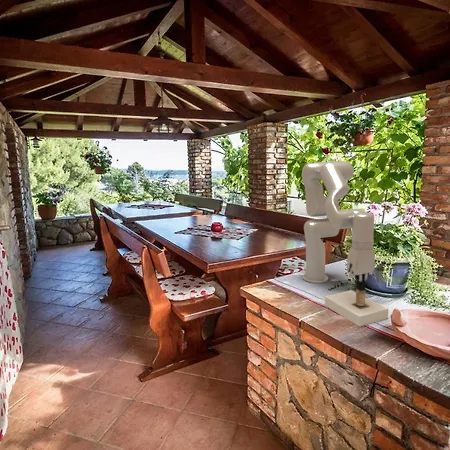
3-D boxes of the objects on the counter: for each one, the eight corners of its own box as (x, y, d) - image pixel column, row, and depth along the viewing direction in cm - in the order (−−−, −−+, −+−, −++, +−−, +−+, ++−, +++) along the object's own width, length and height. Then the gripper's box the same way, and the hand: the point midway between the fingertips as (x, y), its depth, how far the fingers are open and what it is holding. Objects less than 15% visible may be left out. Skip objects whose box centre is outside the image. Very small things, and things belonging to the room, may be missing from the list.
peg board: (324, 305, 138) (324, 296, 137) (350, 298, 143) (351, 290, 142) (359, 326, 120) (359, 316, 119) (387, 318, 125) (388, 308, 124)
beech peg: (353, 313, 130) (353, 290, 128) (360, 311, 131) (360, 288, 129) (359, 317, 126) (360, 293, 124) (366, 315, 128) (367, 291, 126)
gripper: (369, 239, 129) (367, 282, 133) (339, 245, 124) (338, 289, 128) (385, 244, 122) (382, 289, 126) (353, 250, 117) (352, 297, 121)
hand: (360, 289), depth 127 cm, fingers closed
